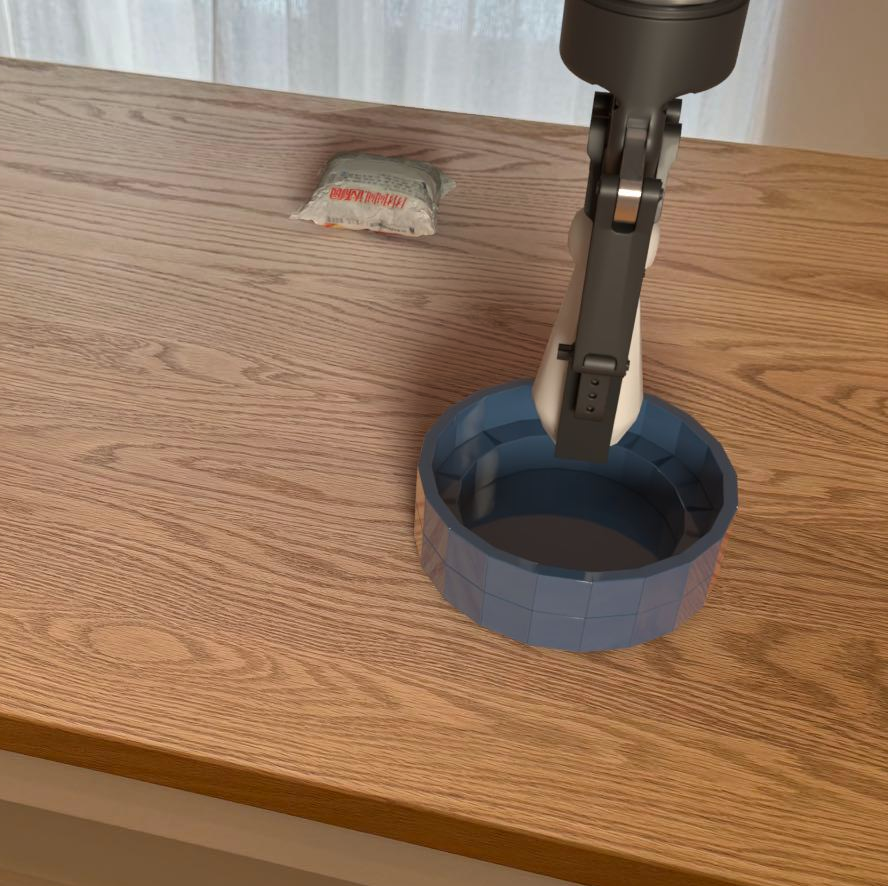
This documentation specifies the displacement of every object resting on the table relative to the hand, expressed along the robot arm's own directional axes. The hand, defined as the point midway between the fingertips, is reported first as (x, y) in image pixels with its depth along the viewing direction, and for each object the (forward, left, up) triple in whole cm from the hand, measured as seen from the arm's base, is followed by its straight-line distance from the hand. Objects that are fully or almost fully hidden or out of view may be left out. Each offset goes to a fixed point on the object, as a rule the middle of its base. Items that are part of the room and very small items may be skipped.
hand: (584, 417), depth 67 cm
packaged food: (+18, -35, -10) cm, 41 cm away
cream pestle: (0, 0, -1) cm, 1 cm away
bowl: (0, 0, -10) cm, 10 cm away
